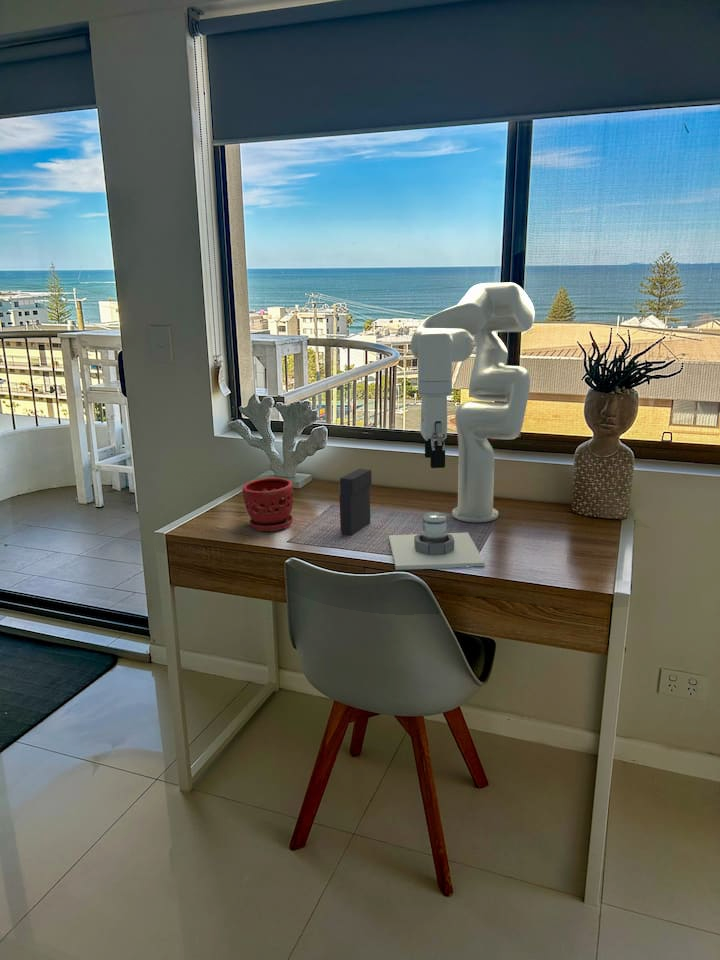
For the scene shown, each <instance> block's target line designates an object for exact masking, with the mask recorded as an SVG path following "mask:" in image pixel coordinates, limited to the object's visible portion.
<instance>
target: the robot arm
mask: <svg viewBox="0 0 720 960" xmlns="http://www.w3.org/2000/svg"><path fill="white" fill-rule="evenodd" d="M535 313H536V312H535V308H534V304H533V302H532V301H531V299H530V298H529V296H528V294H527V293H526V291H525V290H524V289H523V288H522V287H521V286H520V285H519V284H517V283H515V282H511V281H510V282H485V283H478V284H475V285H473V286H472V287H470V288H469V289H468V291H467V292H466V293H465V294H464V296H463V297H462V298H461V300H460V301H459V302H458V303H457V304H456V305H454V306H451V307H448V308H446V309H444V310H441V311H439V312H436V313H434V314H431V315H430V316H428V317H427V318H425V319H424V320H423V321H422V322H421V323H420V324H419V325H418V326H417V328H416V329H415V330H414V333H413V334H412V337H411V340H410V350H411V353H412V355H413V356H414V358H415V359H416V360H417V394H418V396H420V397H421V403H420V404H421V406H420V408H421V410H420V434H421V436H422V437H423V439H424V457H425V458H426V459H428V458H430V468H431V469H444V468H445V467H446V448H445V447H446V446H445V440H446V439H447V436H448V397H449V396H451V395H452V393H453V363H455V362H457V363H460V362H461V363H462V362H464V361H466V360H468V359H469V358H470V357H471V355H472V353H473V352H474V348H475V347H474V346H476V349H475V350H476V352H475V357H474V363H473V366H472V370H471V374H470V378H469V385H468V387H469V388H468V392H469V394H470V396H471V397H472V398H474V399H475V400H469V401H466V402H463V403H461V404H460V405H458V407H457V409H456V411H455V415H454V416H455V426H456V434H457V444H458V460H457V461H458V465H457V466H458V472H457V474H458V476H457V483H458V484H457V506H456V507H454V508H453V509H452V511H451V516H452V517H453V518H454V519H456V520H459V521H461V522H467V523H488V522H492V521H494V520H496V519H498V517H499V511H498V510H497V509H496V508H494V484H495V483H494V480H495V478H494V477H495V452H494V448H493V446H492V445H491V443H490V442H489V440H488V439H493V440H515V439H517V438H518V437H519V436H520V434H521V431H522V429H523V424H524V420H525V415H526V410H527V404H528V400H529V395H530V389H531V378H530V374H529V371H528V370H527V369H526V368H525V367H522V366H519V365H507V360H508V356H509V352H508V349H507V347H506V345H505V343H504V342H503V340H502V339H501V338H500V337H499V336H498V334H497V333H523V332H527V331H529V330H530V329H531V328H532V327H533V325H534V322H535V317H536V316H535ZM474 341H475V342H474Z"/></svg>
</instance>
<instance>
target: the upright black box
mask: <svg viewBox="0 0 720 960" xmlns="http://www.w3.org/2000/svg"><path fill="white" fill-rule="evenodd" d="M372 479H373V478H372V469H365V468H358V469H356V470H354V471H352V472H350V473H348V474H346V475H343V476H342V477H340V478H339V497H338V498H339V522H340V527H339V528H340V531H341V534H342V533H343V534H344V535H348V534H349V536H353V535H354V534H356V533H358V532H359V531H360V530H362V529H363V528H365V527H366V526H368V525H370V524H371V492H370V491H371V490H370V488H371V485H372V483H373V482H372ZM367 524H368V525H367ZM364 526H365V527H364ZM361 528H362V529H361ZM358 530H359V531H358ZM355 532H356V533H355ZM343 534H342V535H343ZM352 534H353V535H352Z"/></svg>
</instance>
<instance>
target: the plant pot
mask: <svg viewBox="0 0 720 960" xmlns="http://www.w3.org/2000/svg"><path fill="white" fill-rule="evenodd" d="M264 489H266V490H264ZM242 494H243V495H242V496H243V501H244V505H245V508H246V512H247V513H248V515H249V517H250V520H249V525H250V527H252V529H254V530H257V531H259V532H276V531H281V530H283V529H285V528H288V527H289V526H290V525H291V524H292V523H293V520H294V517H293V516H292V515H291V513H292V511H293V506H294V488H293V482H292V481H291V480H290V479H286V478H281V477H266V478H265V477H264V478H260V479H256V480H251V481H249V482H247V483H245V484H244V485H243V487H242Z"/></svg>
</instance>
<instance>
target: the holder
mask: <svg viewBox="0 0 720 960" xmlns="http://www.w3.org/2000/svg"><path fill="white" fill-rule="evenodd" d="M388 540H389V545H390V546H389V547H390V549H391V554H392V558H393V559H394V560H393V559H392V560H393V563H394V567H395V568H394V569H395V571H404V570H405V571H406V570H425V569H426V570H430V569H431V570H432V569H433V570H434V569H454V568H453V567H464V568H473V567H472V566H486V562H485V560H484V559H483V557H482V555H481V554H480V551H479V550H478V548H477V546H476V544H475V542H474V541H473V539H472V537H471V535H470V534H469V532H452V533H451V532H446V542H444V543H435V544H429V543H426V542H423V532H421V533H419V534H418V533H415V534H414V533H413V534H389V535H388ZM467 566H468V567H467ZM451 567H452V568H451Z"/></svg>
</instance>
